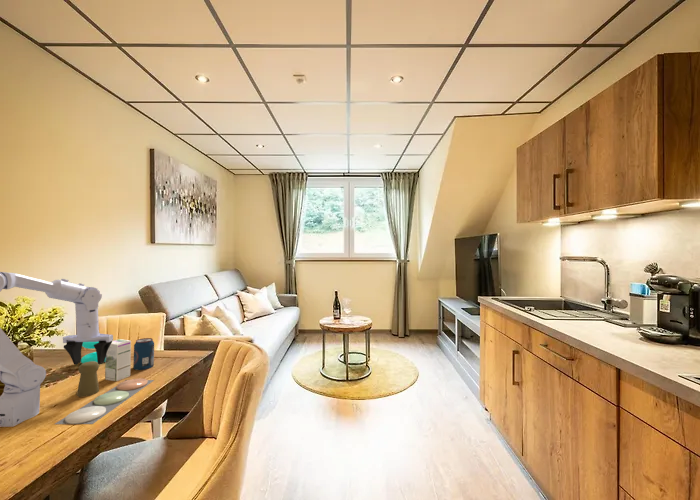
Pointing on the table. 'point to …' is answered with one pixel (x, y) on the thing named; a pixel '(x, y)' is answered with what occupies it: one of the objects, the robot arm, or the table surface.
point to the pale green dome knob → (111, 398)
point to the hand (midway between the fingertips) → (89, 363)
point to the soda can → (143, 354)
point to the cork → (88, 379)
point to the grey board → (108, 407)
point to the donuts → (89, 356)
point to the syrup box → (118, 360)
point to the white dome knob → (85, 414)
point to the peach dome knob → (131, 384)
